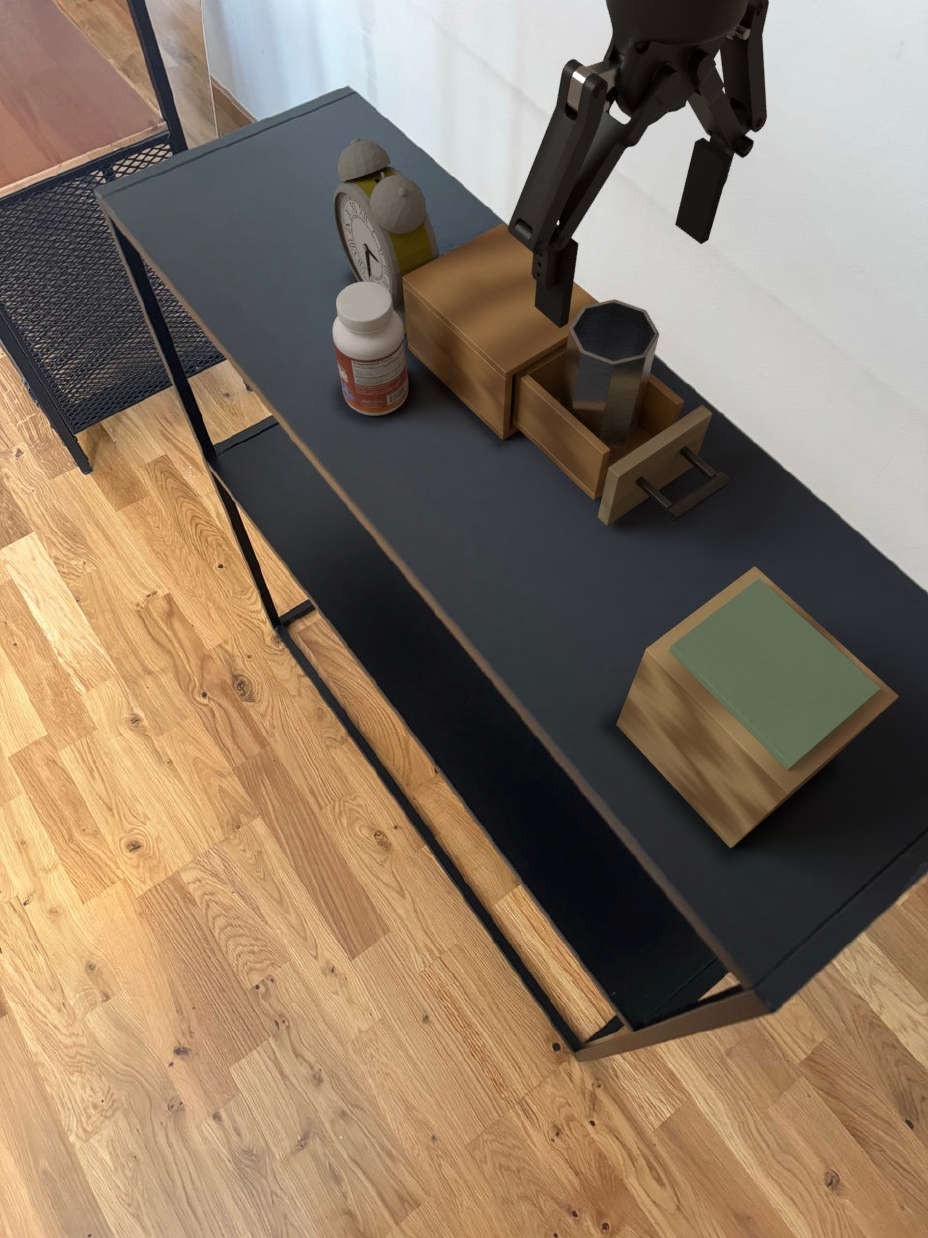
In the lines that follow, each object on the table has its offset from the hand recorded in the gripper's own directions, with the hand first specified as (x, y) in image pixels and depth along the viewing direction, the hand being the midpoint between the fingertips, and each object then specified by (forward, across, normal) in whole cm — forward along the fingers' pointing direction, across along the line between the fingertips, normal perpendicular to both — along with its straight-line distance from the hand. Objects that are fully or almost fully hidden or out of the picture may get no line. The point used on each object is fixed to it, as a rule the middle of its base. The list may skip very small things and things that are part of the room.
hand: (623, 272), depth 63 cm
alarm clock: (+20, +2, -26) cm, 33 cm away
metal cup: (+17, 0, 0) cm, 17 cm away
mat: (+6, +12, +27) cm, 30 cm away
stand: (+19, +12, +27) cm, 35 cm away
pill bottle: (+20, +12, -17) cm, 28 cm away
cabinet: (+19, 0, -13) cm, 23 cm away
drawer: (+18, 0, +3) cm, 19 cm away
